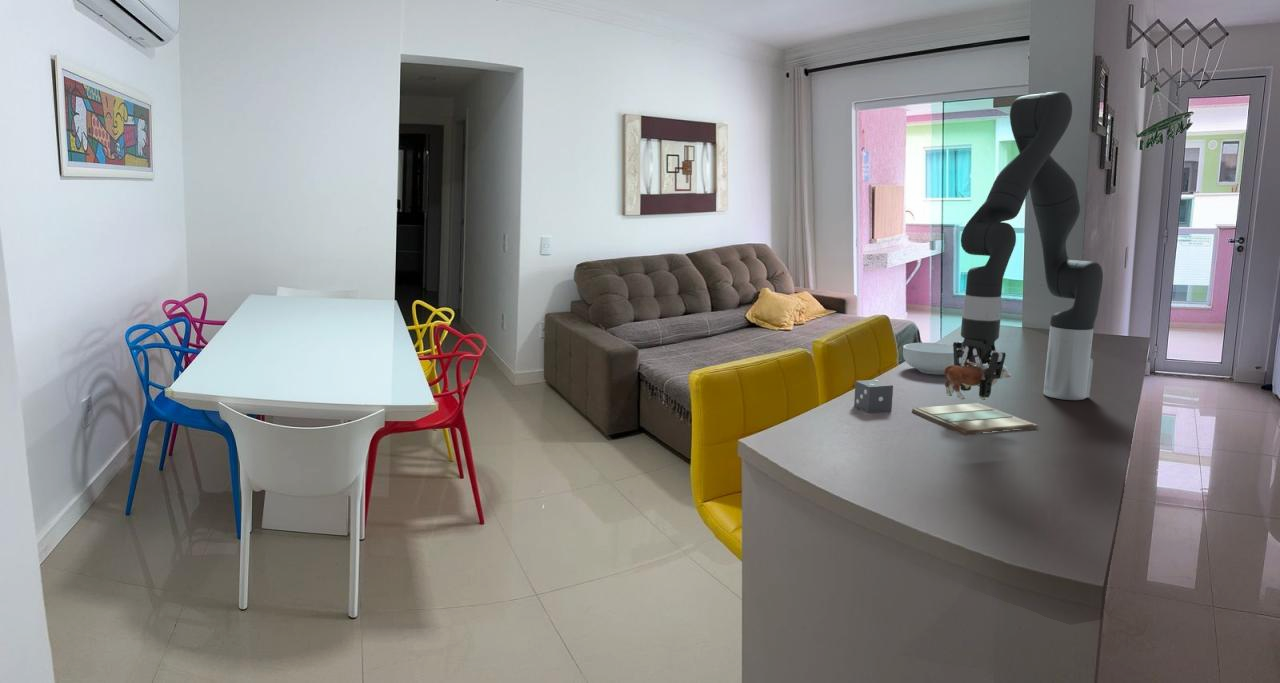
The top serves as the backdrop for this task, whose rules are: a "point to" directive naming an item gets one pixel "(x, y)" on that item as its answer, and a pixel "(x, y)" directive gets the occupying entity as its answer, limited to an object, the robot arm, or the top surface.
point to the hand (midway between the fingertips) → (974, 393)
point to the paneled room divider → (972, 418)
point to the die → (873, 396)
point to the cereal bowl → (929, 357)
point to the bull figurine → (966, 378)
